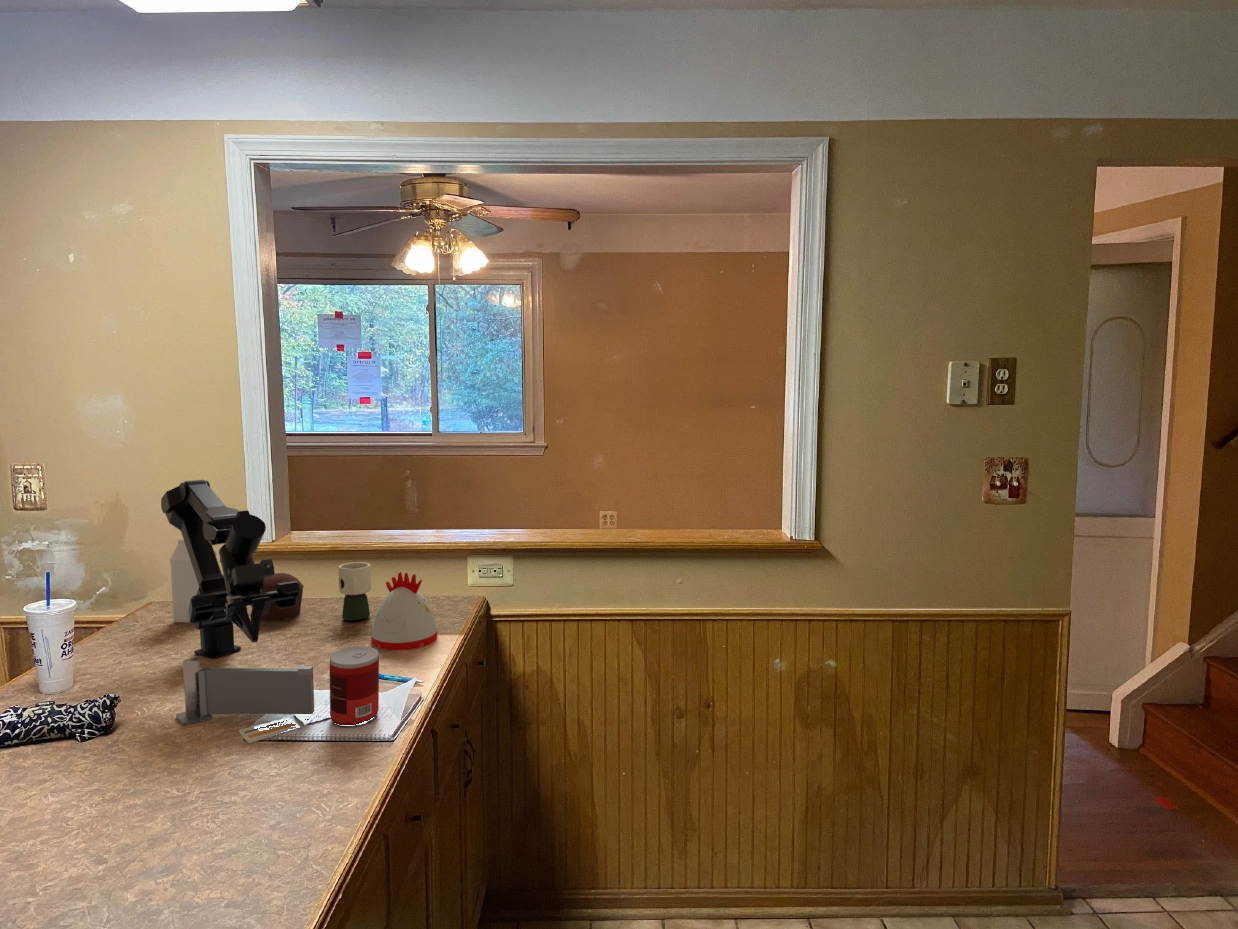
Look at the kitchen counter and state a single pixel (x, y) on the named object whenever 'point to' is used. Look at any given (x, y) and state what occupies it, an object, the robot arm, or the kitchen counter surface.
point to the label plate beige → (263, 732)
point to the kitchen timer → (403, 617)
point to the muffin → (273, 611)
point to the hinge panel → (256, 690)
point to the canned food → (354, 685)
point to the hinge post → (191, 694)
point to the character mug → (355, 589)
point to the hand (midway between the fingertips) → (255, 641)
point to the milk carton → (182, 582)
